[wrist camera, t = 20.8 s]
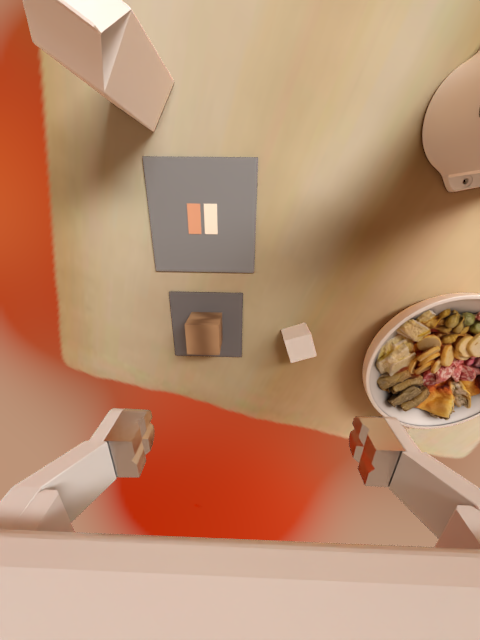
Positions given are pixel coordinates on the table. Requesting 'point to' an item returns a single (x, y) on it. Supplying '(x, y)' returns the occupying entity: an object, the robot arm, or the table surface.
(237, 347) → the mat
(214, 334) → the walnut block
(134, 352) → the table surface
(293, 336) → the beige block
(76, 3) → the milk carton
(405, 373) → the bowl
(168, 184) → the tile
